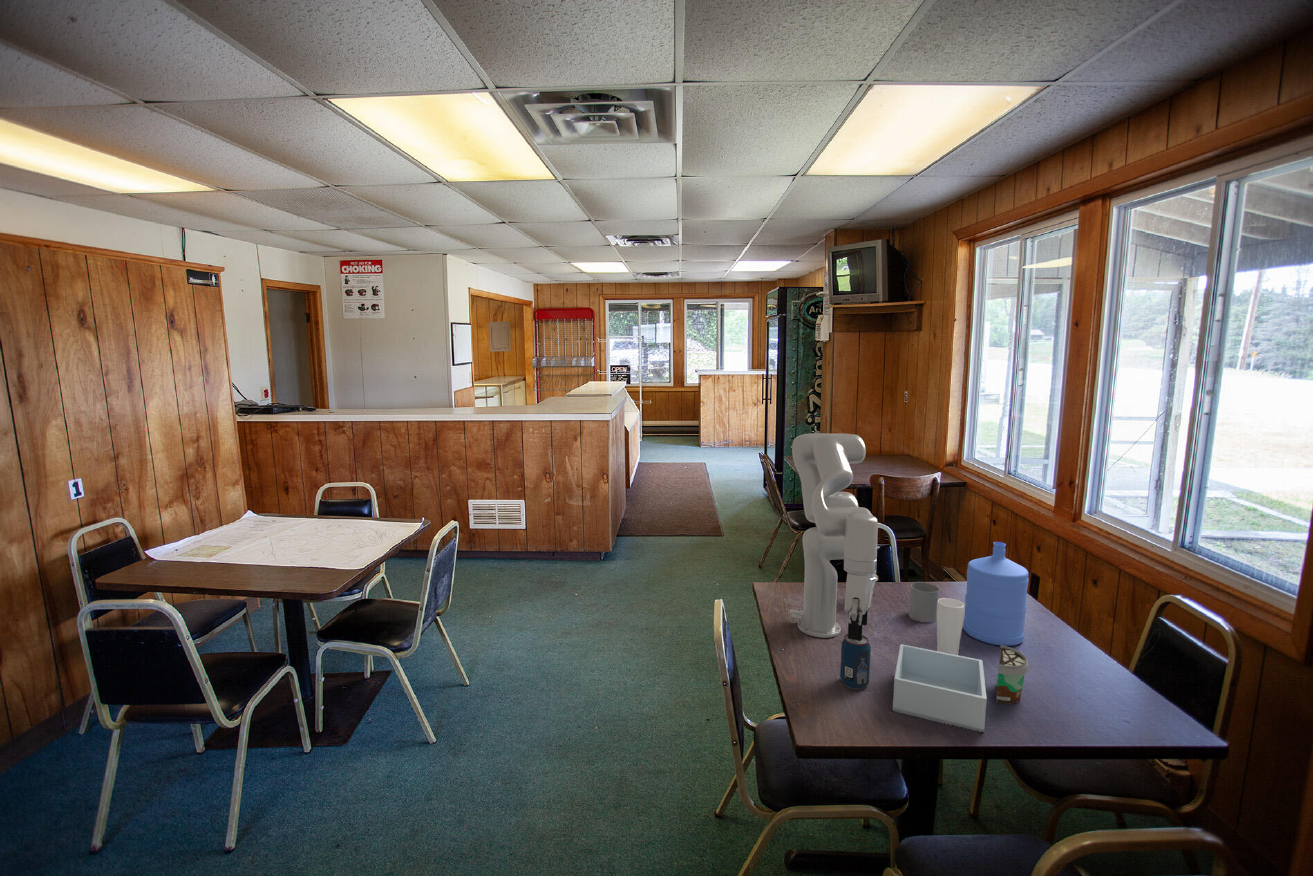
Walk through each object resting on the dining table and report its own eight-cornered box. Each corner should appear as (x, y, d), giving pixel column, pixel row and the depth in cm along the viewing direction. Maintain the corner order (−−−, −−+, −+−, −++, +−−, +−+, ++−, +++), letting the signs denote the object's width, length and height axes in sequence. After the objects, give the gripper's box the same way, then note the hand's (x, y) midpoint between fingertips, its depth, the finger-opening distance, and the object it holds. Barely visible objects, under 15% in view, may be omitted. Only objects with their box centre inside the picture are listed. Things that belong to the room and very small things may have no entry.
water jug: (1012, 653, 164) (1020, 556, 160) (954, 633, 175) (960, 542, 172) (1031, 635, 174) (1039, 544, 170) (974, 618, 185) (981, 532, 182)
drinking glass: (964, 661, 159) (968, 608, 157) (937, 659, 160) (940, 606, 158) (956, 649, 166) (960, 598, 164) (931, 647, 167) (934, 596, 165)
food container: (1026, 713, 136) (1029, 672, 134) (995, 704, 139) (998, 665, 138) (1026, 688, 146) (1029, 650, 145) (997, 681, 149) (1000, 643, 148)
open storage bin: (892, 711, 136) (894, 678, 135) (898, 673, 153) (900, 644, 152) (983, 733, 128) (986, 699, 127) (980, 690, 145) (982, 660, 144)
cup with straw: (848, 599, 200) (850, 542, 198) (876, 601, 198) (878, 544, 196) (851, 609, 192) (853, 550, 189) (880, 612, 190) (883, 552, 188)
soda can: (848, 673, 153) (850, 629, 151) (873, 683, 148) (876, 638, 147) (834, 683, 148) (836, 638, 147) (860, 694, 143) (863, 648, 142)
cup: (939, 615, 188) (941, 585, 186) (935, 625, 181) (937, 594, 179) (910, 609, 192) (912, 580, 191) (906, 618, 185) (908, 588, 184)
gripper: (849, 553, 153) (847, 616, 155) (838, 572, 138) (836, 642, 140) (880, 557, 150) (877, 621, 152) (872, 577, 135) (869, 649, 136)
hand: (857, 631), depth 146 cm, fingers open, 9 cm apart
